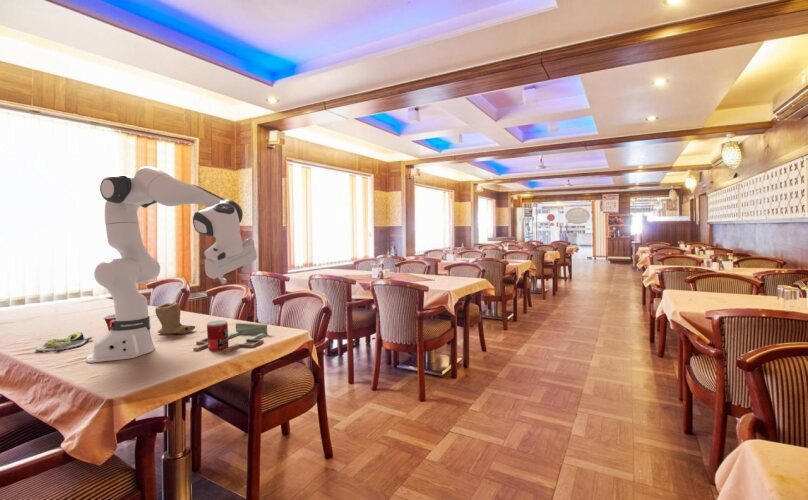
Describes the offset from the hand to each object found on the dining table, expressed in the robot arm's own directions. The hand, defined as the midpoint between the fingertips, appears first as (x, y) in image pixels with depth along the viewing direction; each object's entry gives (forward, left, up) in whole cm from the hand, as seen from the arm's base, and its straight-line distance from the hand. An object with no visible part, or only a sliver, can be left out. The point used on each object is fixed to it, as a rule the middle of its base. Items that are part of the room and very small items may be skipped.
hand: (234, 278), depth 154 cm
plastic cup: (-44, +57, -31) cm, 78 cm away
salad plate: (-64, +60, -31) cm, 93 cm away
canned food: (-6, +15, -31) cm, 35 cm away
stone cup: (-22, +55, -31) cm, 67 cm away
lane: (+1, +21, -30) cm, 37 cm away
